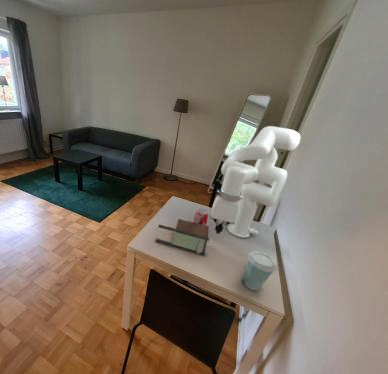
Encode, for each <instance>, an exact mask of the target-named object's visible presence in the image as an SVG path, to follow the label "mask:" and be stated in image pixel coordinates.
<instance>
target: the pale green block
mask: <svg viewBox="0 0 388 374" xmlns="http://www.w3.org/2000/svg"><path fill="white" fill-rule="evenodd" d="M171 243H172V244H173V245H177V246H180V247H184V248H187V249H191V250H194V251H197V253H200V252H201V253H202V251H203V247H204V243H205V240H204V239H200V238H197V237H193V236H189V235H185V234H182V233H178V232H174V234H173V239H172V242H171Z"/></svg>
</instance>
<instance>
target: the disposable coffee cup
mask: <svg viewBox="0 0 388 374" xmlns="http://www.w3.org/2000/svg"><path fill="white" fill-rule="evenodd" d="M277 264H278V263H277V260H276V259H275V258H274V257H273V256H271V255H269V254H268V253H265V252H263V251H258V250H257V251H251V252H249V253H248V254H247V260H246V265H245V270H244V275H243V278H242V279H243V284H244V285H245V286H246V287H247V288H249V289H250V290H253V291H258V290H260V289H261V287H262V286H263V285H264V284H265V283H266V282H267V280H268V279H269V277H270V276H271V275H272V274H273V272H275V271H276V270H277V269H278V265H277Z"/></svg>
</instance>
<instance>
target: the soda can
mask: <svg viewBox="0 0 388 374" xmlns="http://www.w3.org/2000/svg"><path fill="white" fill-rule="evenodd" d="M208 219H209V211H208V209H204V208H198V209H197V210H196V212H195V216H194V219H193V223H197V224H201V225H205V226H207V223H208Z"/></svg>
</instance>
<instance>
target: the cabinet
mask: <svg viewBox="0 0 388 374" xmlns="http://www.w3.org/2000/svg"><path fill="white" fill-rule="evenodd" d="M157 228H160V229H164V230H168V231H171V232H174V233H175V232H178V233H182V234H185V235H189V236H193V237H197V238H200V239H204V240H205V243H204V247H203V251H202V253H201V252H200V253H197V251H194V250H191V249H187V248H184V247H180V246H177V245H173V244H172V243H173V242H170V241H166V240H164V239H163V240H162V239H160V238H156V240H155V242H156V243H158V244H162V245H166V246H168V247H171V248H176V249H179V250H183V251H186V252H190V253H193V254H197V255H200V256H205V255H206V252H205V250H206V246H207V242H208V241H210V237H209V229H210V226H209V225H206V226H205V225H201V224H197V223H194V221H193V222H192V221H189V220H185V219H181V218H178V219H177V222H176V225H175V228H174V227H170V226H167V225H162V224H160V223H159V224H158V227H157Z"/></svg>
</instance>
